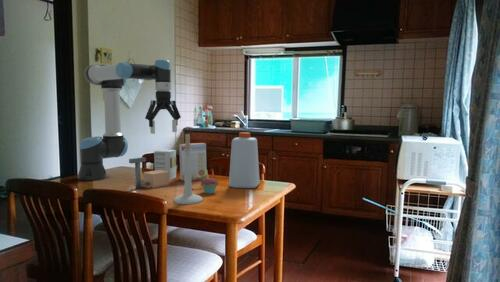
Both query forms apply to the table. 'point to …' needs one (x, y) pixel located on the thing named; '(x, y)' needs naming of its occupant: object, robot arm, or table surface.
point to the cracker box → (194, 161)
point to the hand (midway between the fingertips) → (163, 132)
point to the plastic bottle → (244, 162)
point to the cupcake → (209, 184)
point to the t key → (138, 171)
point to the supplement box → (166, 161)
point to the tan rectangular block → (156, 178)
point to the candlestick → (188, 179)
